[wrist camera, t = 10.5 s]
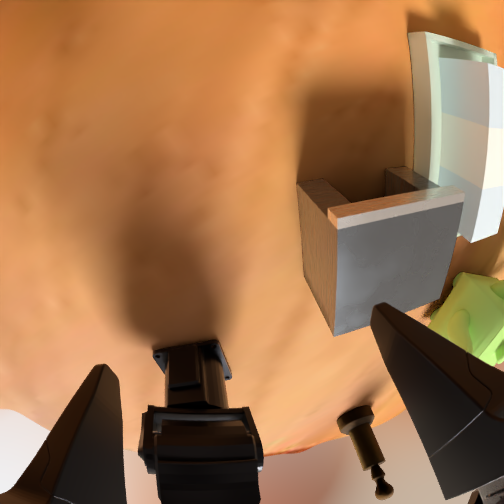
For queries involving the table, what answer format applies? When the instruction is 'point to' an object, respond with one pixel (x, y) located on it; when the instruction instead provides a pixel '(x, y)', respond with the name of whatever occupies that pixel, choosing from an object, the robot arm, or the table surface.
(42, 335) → the table surface
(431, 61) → the dish
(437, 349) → the robot arm
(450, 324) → the kettle
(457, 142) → the white square column
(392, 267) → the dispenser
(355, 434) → the dark turned peg
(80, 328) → the table surface
